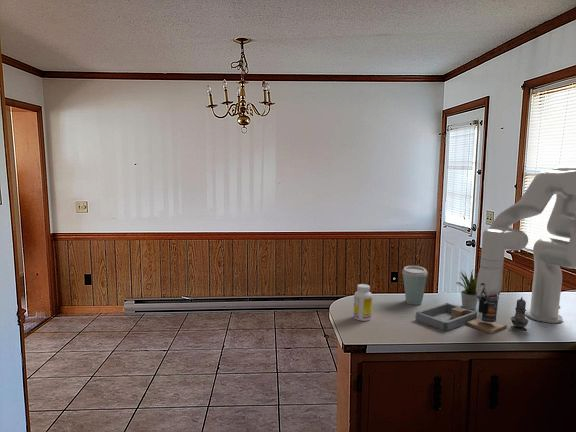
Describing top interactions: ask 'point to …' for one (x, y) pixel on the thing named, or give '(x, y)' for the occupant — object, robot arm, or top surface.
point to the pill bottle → (490, 310)
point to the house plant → (469, 292)
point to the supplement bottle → (362, 303)
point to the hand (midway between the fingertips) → (487, 310)
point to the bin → (451, 324)
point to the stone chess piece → (519, 316)
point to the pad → (486, 325)
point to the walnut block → (457, 312)
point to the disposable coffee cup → (414, 283)
